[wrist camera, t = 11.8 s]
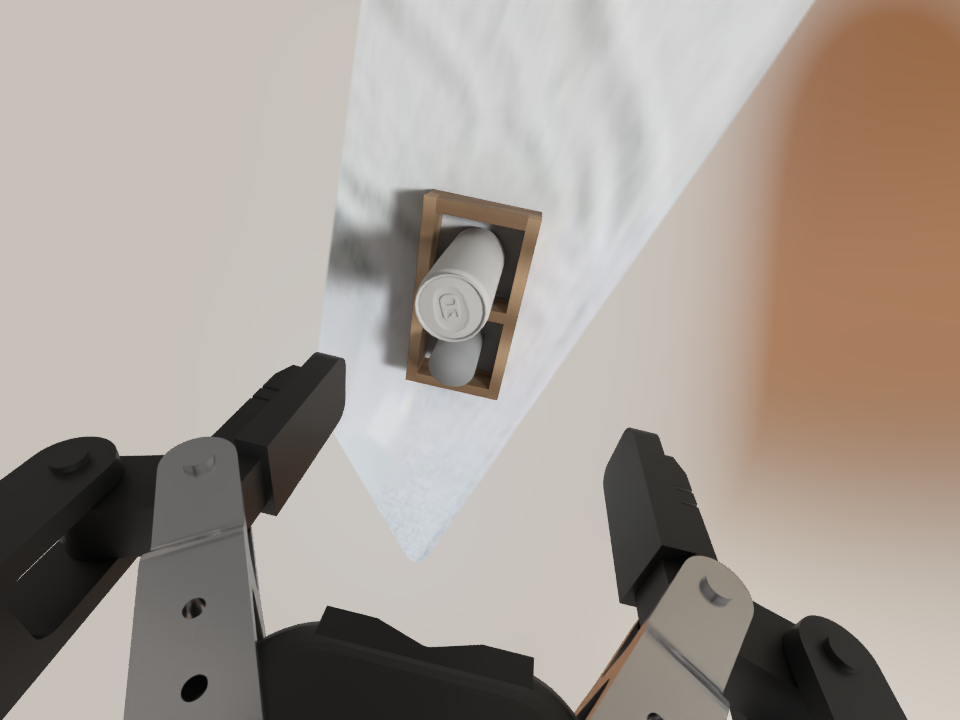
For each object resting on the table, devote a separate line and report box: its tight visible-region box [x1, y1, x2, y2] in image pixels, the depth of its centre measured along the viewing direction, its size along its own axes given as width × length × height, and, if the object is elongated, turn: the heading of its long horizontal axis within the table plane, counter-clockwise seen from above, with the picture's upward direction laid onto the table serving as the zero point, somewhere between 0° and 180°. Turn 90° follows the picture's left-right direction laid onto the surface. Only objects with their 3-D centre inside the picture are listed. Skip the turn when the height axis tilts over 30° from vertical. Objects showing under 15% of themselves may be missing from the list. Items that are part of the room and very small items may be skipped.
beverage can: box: [415, 227, 505, 342], centre depth 31 cm, size 5×5×12 cm
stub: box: [428, 328, 484, 387], centre depth 37 cm, size 4×4×6 cm
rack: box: [406, 189, 542, 400], centre depth 37 cm, size 17×9×3 cm, turn 170°
